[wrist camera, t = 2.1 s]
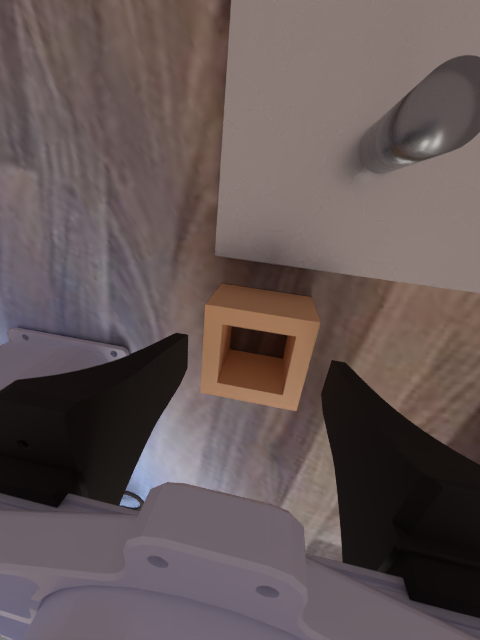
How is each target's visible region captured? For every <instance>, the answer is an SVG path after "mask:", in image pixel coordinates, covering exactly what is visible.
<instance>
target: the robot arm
mask: <svg viewBox="0 0 480 640" xmlns="http://www.w3.org/2000/svg"><path fill="white" fill-rule="evenodd" d="M8 337H9V340H10V341H9V342H7V343H5V344H3V345H1V346H0V636H2V637H4V638H7V639H9V640H480V465H479V464H477V463H475V462H473V461H472V460H470V459H468V458H466V457H465V456H463V455H461V454H459V453H458V452H456V451H454V450H453V449H451V448H449V447H448V446H446V445H444V444H443V443H441V442H440V441H438V440H436V439H435V438H433V437H432V436H430V435H429V434H427V433H426V432H424V431H423V430H421V429H420V428H419V427H417V426H416V425H414V424H413V423H412V422H410V421H409V420H408V419H406V418H405V417H404V416H403V415H401V414H400V413H399V412H397V411H396V410H395V409H394V408H393V407H391V406H390V405H389V404H388V403H387V402H386V401H384V400H383V399H382V398H381V397H380V396H379V395H378V394H377V393H376V392H375V391H374V390H372V389H371V388H370V387H369V386H368V385H367V384H366V383H365V382H364V381H363V380H362V379H361V378H360V377H359V376H358V375H357V374H356V373H355V372H354V371H353V370H352V369H351V368H350V367H349V366H348V365H347V364H346V363H345V362H339V361H333V360H332V361H331V365H330V368H329V371H328V374H327V377H326V380H325V383H324V387H323V390H322V393H321V396H322V409H323V415H324V420H325V425H326V429H327V434H328V438H329V443H330V447H331V451H332V456H333V461H334V467H335V476H336V484H337V493H338V504H339V514H340V527H341V541H342V558H343V563H342V562H338V561H334V560H330V559H326V558H322V557H318V556H314V555H310V554H306V553H305V540H304V528H303V526H302V524H301V523H300V522H299V521H298V520H297V519H296V518H295V517H294V516H293V515H292V514H291V513H290V512H289V511H287V510H284V509H282V508H279V507H277V506H274V505H272V504H269V503H265V502H260V501H256V500H252V499H248V498H244V497H239V496H235V495H231V494H227V493H222V492H218V491H214V490H210V489H206V488H201V487H197V486H193V485H189V484H185V483H170V482H167V483H164V484H162V485H160V486H157V487H155V488H152V489H150V492H149V494H148V496H147V498H146V500H145V502H144V504H143V506H142V509H141V511H136V510H132V509H128V508H124V507H121V506H119V504H120V502H121V499H122V497H123V495H124V492H125V490H126V487H127V485H128V483H129V480H130V478H131V476H132V474H133V471H134V469H135V467H136V464H137V462H138V460H139V458H140V456H141V454H142V451H143V449H144V447H145V445H146V443H147V441H148V439H149V437H150V435H151V432H152V430H153V428H154V426H155V425H156V423H157V421H158V419H159V418H160V416H161V414H162V413H163V411H164V410H165V408H166V406H167V405H168V403H169V402H170V400H171V398H172V397H173V395H174V394H175V392H176V390H177V389H178V387H179V385H180V384H181V381H182V379H183V377H184V375H185V372H186V370H187V363H188V335H186V334H180V333H175V334H173V335H171V336H168V337H166V338H164V339H162V340H160V341H158V342H156V343H154V344H152V345H150V346H148V347H146V348H144V349H141V350H139V351H137V352H135V353H132V354H129V351H128V350H127V349H126V348H124V347H121V346H115V345H110V344H104V343H99V342H94V341H88V340H83V339H77V338H72V337H66V336H61V335H55V334H50V333H44V332H39V331H33V330H28V329H22V328H17V327H13V328H11V329H9V330H8ZM114 351H115V352H116V353H117V354H116V353H115V352H114Z"/></svg>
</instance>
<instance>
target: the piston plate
mask: <svg viewBox="0 0 480 640" xmlns="http://www.w3.org/2000/svg"><path fill="white" fill-rule="evenodd" d="M215 256H221V257H228V258H235V259H242V260H249V261H256V262H263V263H270V264H277V265H285V266H292V267H299V268H306V269H313V270H320V271H327V272H334V273H341V274H348V275H355V276H362V277H369V278H376V279H384V280H391V281H398V282H405V283H412V284H419V285H426V286H433V287H440V288H447V289H454V290H461V291H468V292H476V293H480V0H231V12H230V28H229V43H228V59H227V74H226V90H225V105H224V121H223V136H222V152H221V167H220V183H219V198H218V214H217V229H216V245H215Z"/></svg>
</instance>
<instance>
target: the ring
mask: <svg viewBox="0 0 480 640" xmlns="http://www.w3.org/2000/svg"><path fill="white" fill-rule="evenodd" d="M232 326H236V327H242V328H248V329H254V330H260V331H265V332H271V333H277V334H283V335H288V336H287V341H286V345H285V350H284V354H283V359H282V358H277V357H271V356H265V355H260V354H254V353H248V352H243V351H237V350H231V349H230V341H231V331H232ZM319 326H320V320H319V317H318V314H317V311H316V308H315V305H314V302H313V299H312V297H308V296H301V295H295V294H288V293H281V292H275V291H268V290H262V289H255V288H248V287H242V286H235V285H229V284H221V285H220V286H219V288H218V289H217V290H216V291H215V293H214V294H213V295H212V296H211V298H210V299H209V300H208V301H207V303H206V304H205V318H204V337H203V356H202V375H201V393H206V394H211V395H216V396H221V397H226V398H231V399H236V400H242V401H247V402H252V403H257V404H262V405H267V406H272V407H277V408H283V409H288V410H293V411H296V410H297V406H298V403H299V399H300V396H301V392H302V388H303V385H304V381H305V377H306V374H307V370H308V366H309V363H310V359H311V355H312V352H313V348H314V344H315V341H316V337H317V333H318V330H319Z"/></svg>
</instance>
